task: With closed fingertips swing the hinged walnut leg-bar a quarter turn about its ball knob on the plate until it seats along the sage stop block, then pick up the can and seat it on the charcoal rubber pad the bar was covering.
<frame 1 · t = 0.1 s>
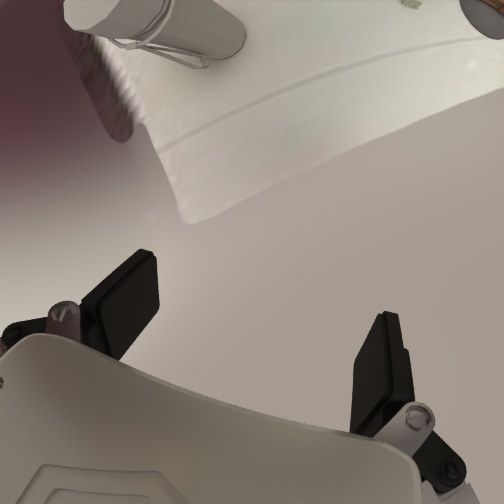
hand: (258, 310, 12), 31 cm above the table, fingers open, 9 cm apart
water bottle: (222, 43, 34), on the table
pad: (486, 11, 20), on the table
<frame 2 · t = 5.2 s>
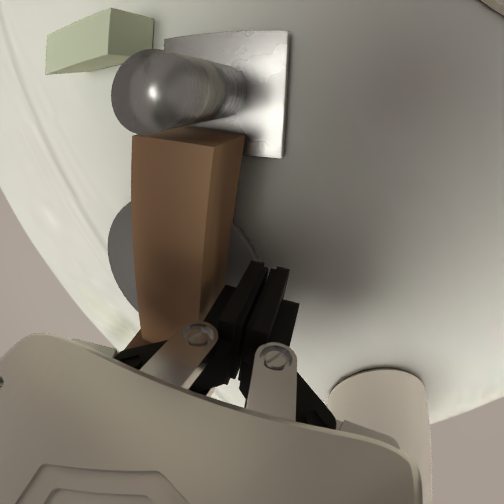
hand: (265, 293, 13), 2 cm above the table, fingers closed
stop block: (118, 46, 11), on the table
ball knob on plate: (224, 91, 11), on the table
can: (376, 393, 17), on the table
pad: (179, 272, 16), on the table
bar: (175, 278, 12), point 3 cm above the table, hinge at 7.0°, touching gripper
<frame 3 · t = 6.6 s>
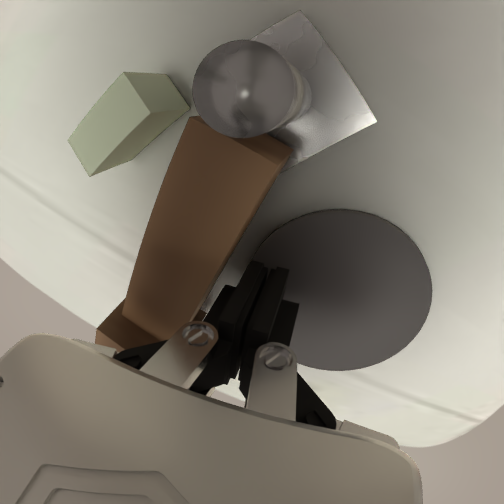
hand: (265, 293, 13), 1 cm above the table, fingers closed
stop block: (147, 118, 12), on the table
ball knob on plate: (284, 95, 10), on the table
pad: (338, 300, 14), on the table
bar: (177, 268, 11), point 3 cm above the table, hinge at 62.0°, touching gripper
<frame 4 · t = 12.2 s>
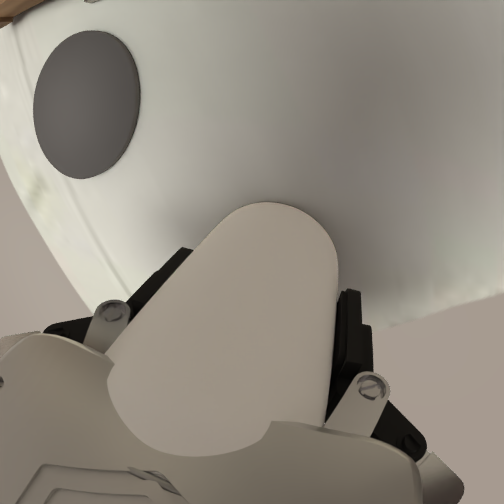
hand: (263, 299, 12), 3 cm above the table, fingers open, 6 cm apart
can: (274, 259, 15), on the table, touching gripper
pad: (79, 104, 14), on the table
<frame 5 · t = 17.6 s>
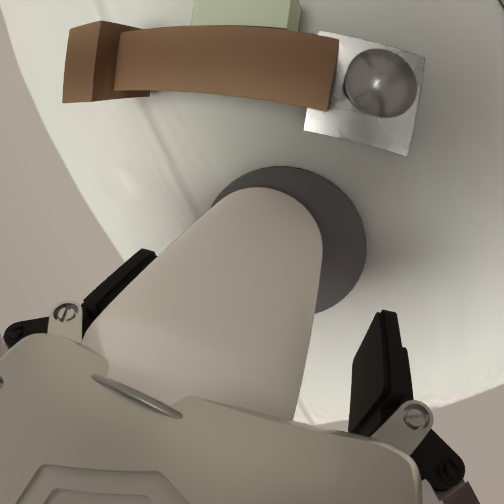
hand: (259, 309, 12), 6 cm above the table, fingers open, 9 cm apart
stop block: (258, 21, 11), on the table
ball knob on plate: (364, 91, 12), on the table
can: (264, 241, 16), resting on pad
pad: (283, 247, 17), on the table
bar: (194, 59, 10), point 3 cm above the table, hinge at 91.3°
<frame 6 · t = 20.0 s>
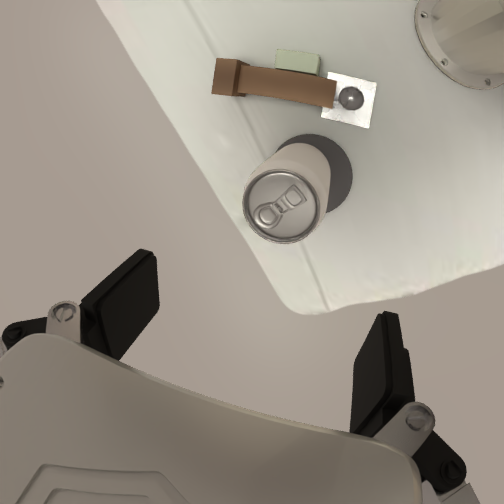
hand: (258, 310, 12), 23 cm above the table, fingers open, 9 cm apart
stop block: (300, 65, 26), on the table
ball knob on plate: (348, 99, 27), on the table
can: (300, 171, 31), resting on pad
pad: (310, 174, 32), on the table
bar: (276, 83, 25), point 3 cm above the table, hinge at 91.3°
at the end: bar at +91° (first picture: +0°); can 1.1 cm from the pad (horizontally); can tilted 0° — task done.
